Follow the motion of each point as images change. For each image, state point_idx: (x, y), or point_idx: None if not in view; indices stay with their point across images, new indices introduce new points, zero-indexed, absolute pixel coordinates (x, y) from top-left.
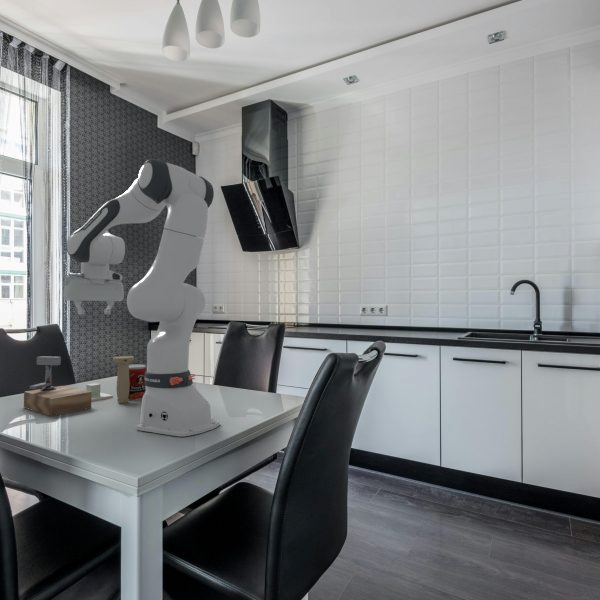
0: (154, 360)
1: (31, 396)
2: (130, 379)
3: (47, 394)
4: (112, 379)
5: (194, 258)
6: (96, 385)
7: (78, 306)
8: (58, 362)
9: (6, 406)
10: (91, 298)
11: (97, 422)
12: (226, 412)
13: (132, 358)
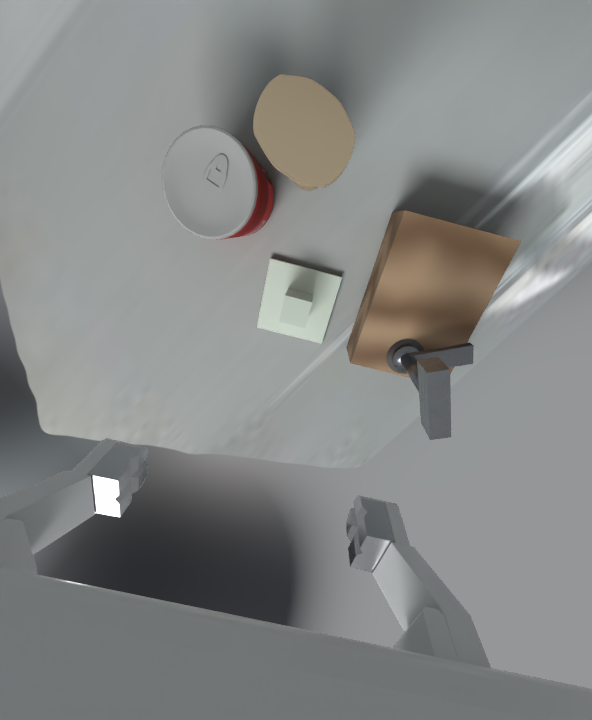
0: None
1: None
2: (261, 170)
3: (466, 303)
4: (116, 424)
5: None
6: (297, 298)
7: (437, 585)
8: (431, 361)
9: None
10: (325, 678)
11: (549, 26)
12: None
13: (286, 78)
